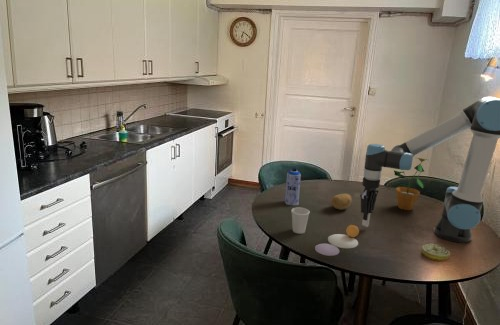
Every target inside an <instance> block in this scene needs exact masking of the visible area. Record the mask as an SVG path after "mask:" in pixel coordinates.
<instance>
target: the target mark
mask: <svg viewBox="0 0 500 325" xmlns="http://www.w3.org/2000/svg"><path fill="white" fill-rule="evenodd" d="M327 241H328V244H331V245H334V246H336V247H337V248H339V249H340V248H341V249H353V248H356V247H358V246H359V241H358V240H357V239H356V238H355V237H350V236H348V234H343V233H342V234H341V233H337V234H334V233H333V234H331V235H329V236H328V237H327Z"/></svg>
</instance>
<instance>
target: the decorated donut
mask: <svg viewBox="0 0 500 325" xmlns="http://www.w3.org/2000/svg"><path fill="white" fill-rule="evenodd" d="M421 252H422V254H423V256H425V257H426V258H427V259H429V260H432V261H436V262H444V261H447V260H448V259H449V258H450V257H451V252H450V251H449V250H448V249H447V248H445V247H444V246H442V245H439V244H435V243H426V244H423V245H422V248H421Z"/></svg>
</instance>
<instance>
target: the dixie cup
mask: <svg viewBox="0 0 500 325" xmlns="http://www.w3.org/2000/svg"><path fill="white" fill-rule="evenodd" d="M290 210H291V223H292V224H291V225H292V231H293V233H295V234H297V235H298V234H299V235H300V234H305V232H306V228H307V224H308V219H309V215H310V213H311V211H310V210H309V209H308V208H305V207H301V206H300V207H299V206H298V207H297V206H296V207H293V208H292V209H290Z"/></svg>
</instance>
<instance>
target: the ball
mask: <svg viewBox="0 0 500 325" xmlns="http://www.w3.org/2000/svg"><path fill="white" fill-rule="evenodd" d="M359 234H360V230H359V227H358V226H357V225H356V224H355V225H354V224H350V225H348V226H347V228H346V235H348V236H350V237H353V238H355V237H358V235H359Z"/></svg>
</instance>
